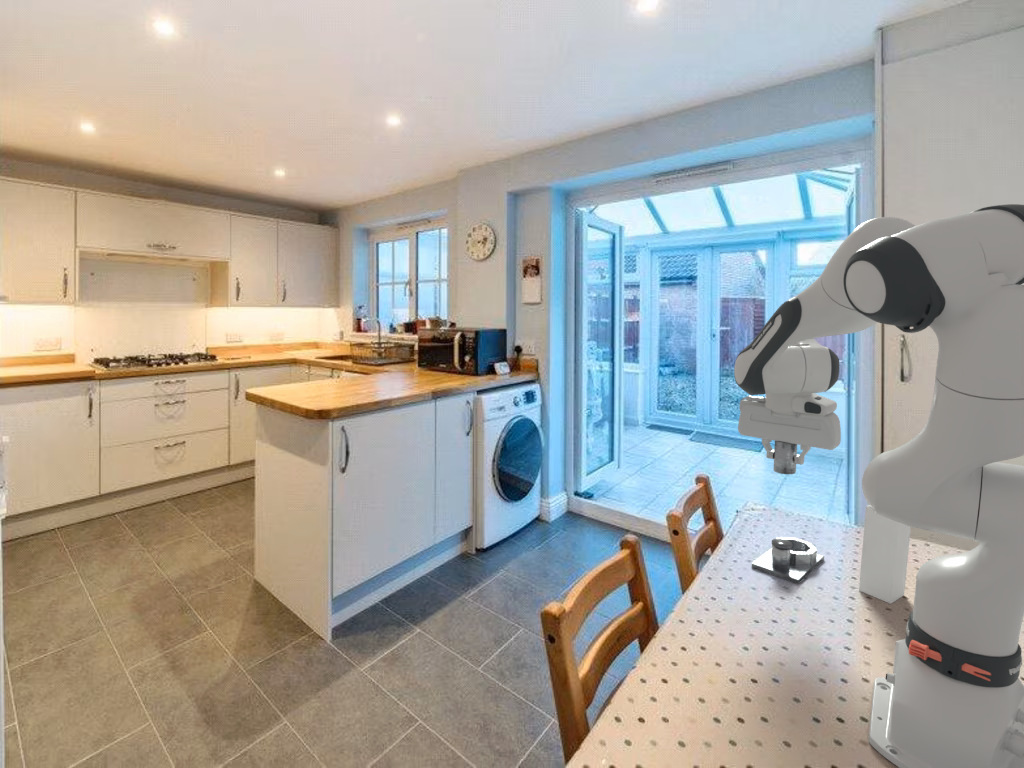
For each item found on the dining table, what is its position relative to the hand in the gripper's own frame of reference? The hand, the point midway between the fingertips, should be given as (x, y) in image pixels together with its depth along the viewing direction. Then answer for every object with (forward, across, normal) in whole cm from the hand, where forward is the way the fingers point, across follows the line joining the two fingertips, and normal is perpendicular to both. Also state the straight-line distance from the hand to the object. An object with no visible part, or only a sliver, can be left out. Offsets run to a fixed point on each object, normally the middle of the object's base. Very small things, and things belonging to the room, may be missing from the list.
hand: (784, 460), depth 111 cm
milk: (+26, +18, +5) cm, 33 cm away
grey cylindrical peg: (+2, 0, 0) cm, 2 cm away
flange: (+26, 0, +4) cm, 27 cm away
